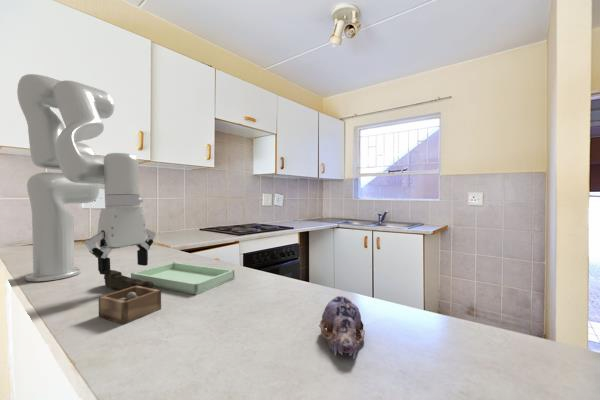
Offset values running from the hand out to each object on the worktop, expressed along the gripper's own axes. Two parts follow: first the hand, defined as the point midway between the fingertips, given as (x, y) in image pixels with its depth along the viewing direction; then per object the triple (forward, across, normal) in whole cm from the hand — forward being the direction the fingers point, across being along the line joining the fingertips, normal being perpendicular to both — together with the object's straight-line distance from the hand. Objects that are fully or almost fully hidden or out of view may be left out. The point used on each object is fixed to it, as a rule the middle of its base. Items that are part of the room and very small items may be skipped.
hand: (124, 269), depth 71 cm
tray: (+6, -13, +6) cm, 15 cm away
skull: (+8, +1, +57) cm, 58 cm away
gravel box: (+6, +8, +14) cm, 17 cm away
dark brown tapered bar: (+6, 0, -1) cm, 6 cm away
